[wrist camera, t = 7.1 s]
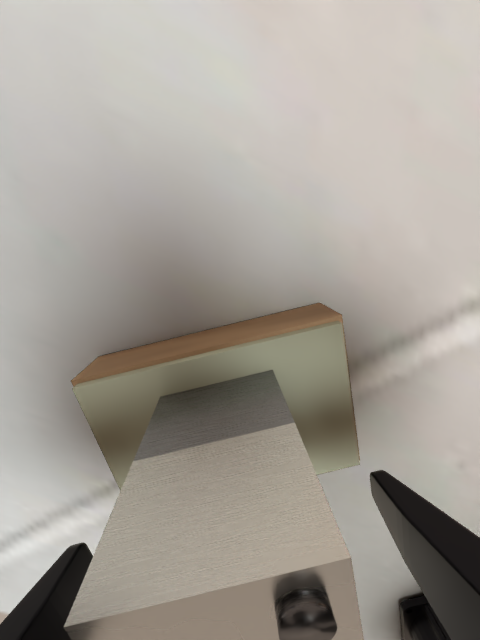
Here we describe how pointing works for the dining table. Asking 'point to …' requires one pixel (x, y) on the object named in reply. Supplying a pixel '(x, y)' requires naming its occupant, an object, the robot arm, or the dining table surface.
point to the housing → (220, 530)
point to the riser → (226, 364)
